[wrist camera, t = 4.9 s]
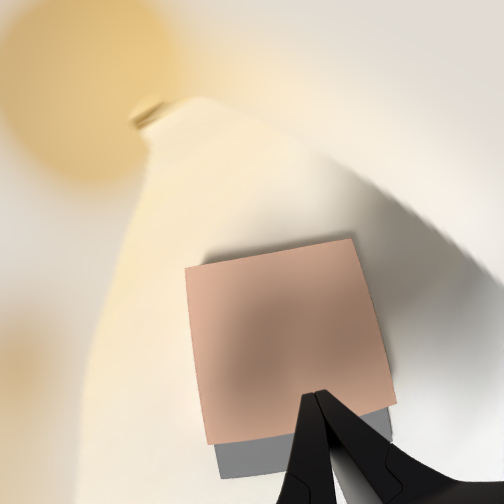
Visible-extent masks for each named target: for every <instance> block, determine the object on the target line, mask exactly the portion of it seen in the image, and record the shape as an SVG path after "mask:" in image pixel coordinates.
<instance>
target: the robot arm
mask: <svg viewBox="0 0 504 504" xmlns="http://www.w3.org/2000/svg"><path fill="white" fill-rule="evenodd" d="M390 443H391V442H390V441H389V440H387V439H386V438H385V437H384V436H382V435H381V434H380V433H379V432H377V431H376V430H375V429H374V428H372V427H371V426H370V425H369V424H367V423H366V422H365V421H364V420H362V419H361V418H360V417H359V416H357V415H356V414H355V413H354V412H353V411H351V410H350V409H349V408H348V407H347V406H345V405H344V404H343V403H342V402H341V401H339V400H338V399H337V398H336V397H335V396H333V395H332V394H331V393H330V392H329V391H328V390H326V389H323V390H318V391H315V392H314V393H313V392H310V393H305V394H302V396H301V401H300V406H299V411H298V417H297V422H296V427H295V432H294V437H293V442H292V447H291V451H290V456H289V460H288V465H287V469H286V473H285V477H284V482H283V485H282V488H281V492H280V495H279V497H278V500H277V503H276V504H337V501H336V494H335V486H334V479H333V472H332V468H333V470H334V473H335V475H336V478H337V480H338V483H339V485H340V487H341V490H342V492H343V495H344V497H345V500H346V502H347V504H504V481H495V482H465V481H459V480H455V479H452V478H450V477H447V476H445V475H443V474H441V473H440V472H438V471H436V470H434V469H432V468H430V467H428V466H426V465H424V464H422V463H421V462H419V461H417V460H416V459H414V458H412V457H411V456H409V455H408V454H406V453H405V452H403V451H402V450H400V449H399V448H398V447H397V446H395V445H394V444H393V443H391V444H390Z"/></svg>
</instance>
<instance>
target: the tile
mask: <svg viewBox="0 0 504 504" xmlns="http://www.w3.org/2000/svg"><path fill="white" fill-rule="evenodd" d="M185 278H186V290H187V301H188V311H189V320H190V329H191V338H192V346H193V354H194V362H195V369H196V377H197V383H198V390H199V397H200V403H201V409H202V415H203V421H204V427H205V433H206V438H207V444H208V445H211V444H222V443H232V442H241V441H248V440H255V439H262V438H268V437H274V436H280V435H285V434H290V433H294V432H295V427H296V422H297V417H298V411H299V406H300V401H301V396H302V394H305V393H310V392H313V393H314V392H315V391H318V390H323V389H326V390H328V391H329V392H330V393H331V394H332V395H333V396H335V397H336V398H337V399H338V400H339V401H341V402H342V403H343V404H344V405H345V406H347V407H348V408H349V409H350V410H351V411H353V412H354V413H355V414H356V415H357V416H361V415H365V414H368V413H371V412H374V411H377V410H380V409H383V408H385V407H388V406H391V405H394V404H397V402H396V397H395V392H394V387H393V382H392V378H391V373H390V369H389V364H388V360H387V356H386V352H385V348H384V344H383V340H382V336H381V332H380V328H379V325H378V321H377V317H376V314H375V310H374V307H373V303H372V300H371V297H370V293H369V290H368V287H367V283H366V280H365V277H364V274H363V271H362V268H361V265H360V262H359V259H358V256H357V253H356V250H355V247H354V244H353V241H352V238H348V239H343V240H337V241H332V242H327V243H321V244H316V245H310V246H305V247H299V248H294V249H288V250H283V251H277V252H272V253H266V254H261V255H255V256H250V257H244V258H239V259H233V260H228V261H222V262H216V263H211V264H205V265H200V266H194V267H189V268H185Z"/></svg>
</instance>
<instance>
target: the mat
mask: <svg viewBox="0 0 504 504" xmlns="http://www.w3.org/2000/svg"><path fill="white" fill-rule="evenodd" d="M359 417H360V418H361V419H362V420H364V421H365V422H366V423H367V424H369V425H370V426H371V427H372V428H374V429H375V430H376V431H377V432H379V433H380V434H381V435H382V436H384V437H385V438H386V439H387V440H389V441H390V442H392V441H393V440H392V434H391V428H390V422H389V417H388V411H387V407H385V408H383V409H380V410H377V411H374V412H371V413H368V414H365V415H361V416H359ZM293 437H294V433H290V434H285V435H280V436H274V437H268V438H262V439H255V440H248V441H241V442H232V443H222V444H214V447H215V452H216V457H217V462H218V467H219V472H220V477H221V479H229V478H240V477H249V476H257V475H265V474H271V473H278V472H283V471H286V469H287V465H288V460H289V456H290V451H291V447H292V442H293Z"/></svg>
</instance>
